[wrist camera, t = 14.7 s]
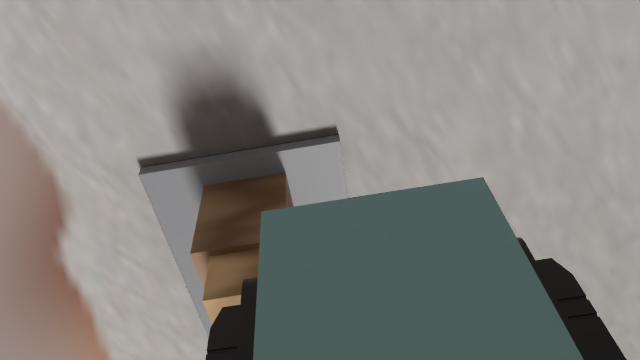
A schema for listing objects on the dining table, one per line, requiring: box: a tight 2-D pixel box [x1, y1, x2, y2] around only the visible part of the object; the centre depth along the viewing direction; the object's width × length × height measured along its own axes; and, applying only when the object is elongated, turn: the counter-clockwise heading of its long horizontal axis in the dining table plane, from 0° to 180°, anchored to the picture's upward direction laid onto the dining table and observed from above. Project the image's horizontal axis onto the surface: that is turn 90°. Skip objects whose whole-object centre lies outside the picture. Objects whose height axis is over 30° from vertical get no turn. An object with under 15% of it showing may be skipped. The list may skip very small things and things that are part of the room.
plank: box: [203, 249, 259, 324], centre depth 29 cm, size 4×14×3 cm, turn 9°
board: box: [139, 134, 349, 337], centre depth 36 cm, size 12×18×1 cm, turn 9°
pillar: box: [190, 172, 294, 288], centre depth 30 cm, size 5×5×6 cm
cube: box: [253, 177, 584, 360], centre depth 10 cm, size 4×4×4 cm
